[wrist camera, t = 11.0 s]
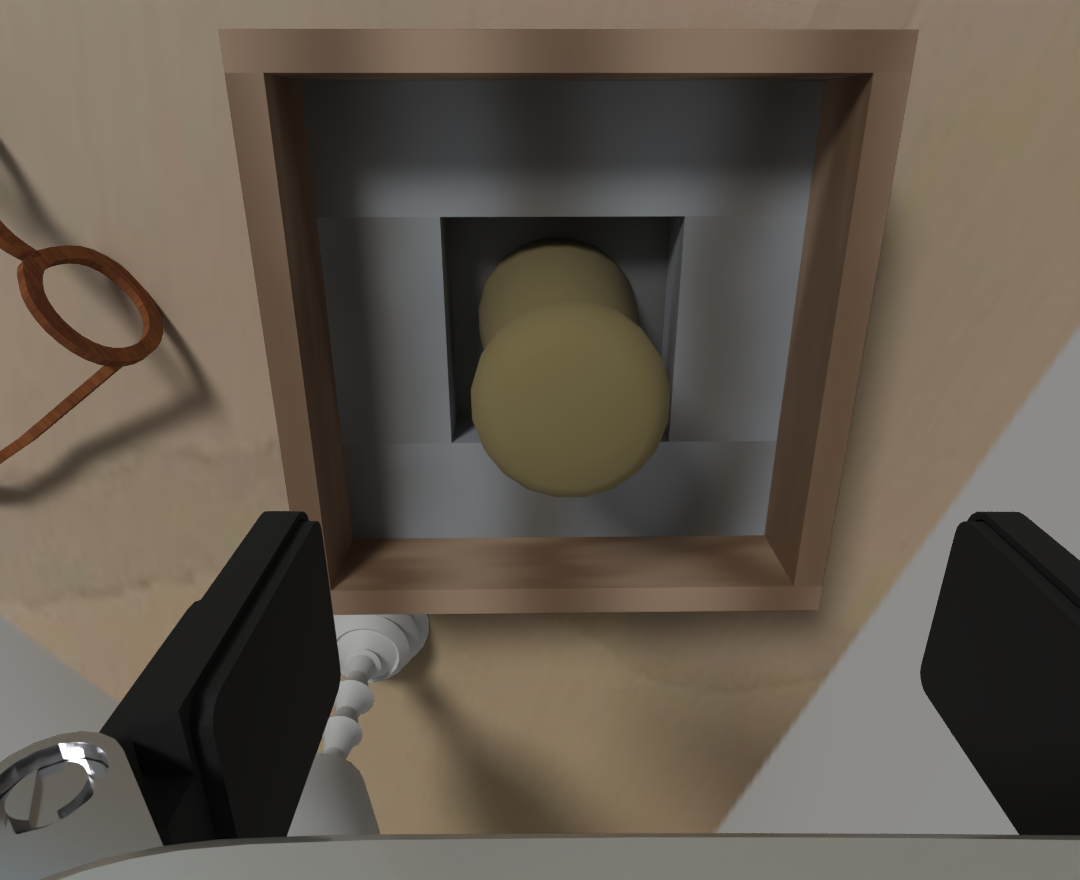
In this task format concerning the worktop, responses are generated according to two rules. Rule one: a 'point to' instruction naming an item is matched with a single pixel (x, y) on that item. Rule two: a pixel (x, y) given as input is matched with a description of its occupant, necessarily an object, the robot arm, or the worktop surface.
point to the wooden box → (590, 216)
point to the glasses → (63, 333)
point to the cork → (566, 371)
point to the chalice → (354, 722)
